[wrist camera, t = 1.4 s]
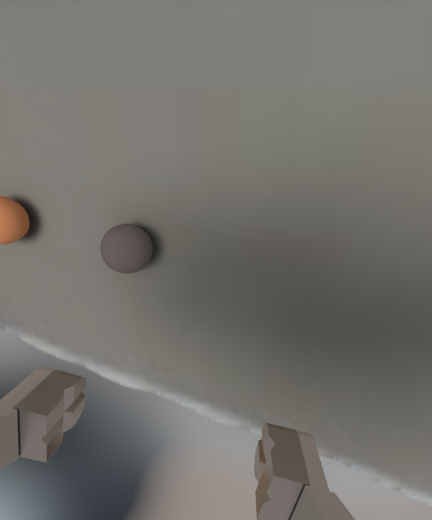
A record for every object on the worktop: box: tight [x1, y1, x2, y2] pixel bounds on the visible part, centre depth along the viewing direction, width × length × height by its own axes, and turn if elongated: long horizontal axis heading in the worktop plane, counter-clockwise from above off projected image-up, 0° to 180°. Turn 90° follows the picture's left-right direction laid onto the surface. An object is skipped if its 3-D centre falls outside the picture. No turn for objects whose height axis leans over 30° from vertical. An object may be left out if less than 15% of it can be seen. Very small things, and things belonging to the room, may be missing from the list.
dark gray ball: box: [101, 224, 153, 273], centre depth 25 cm, size 5×5×5 cm
